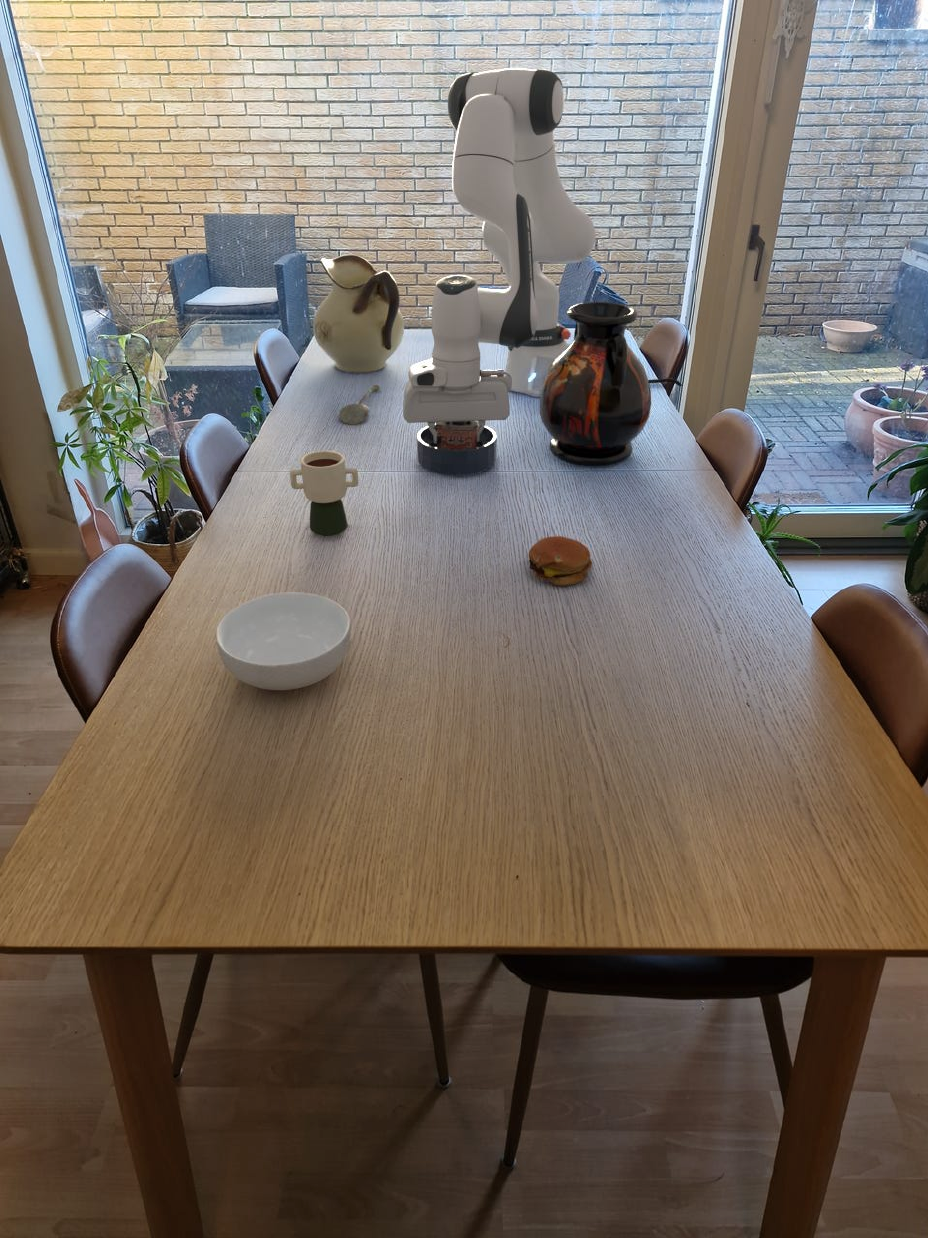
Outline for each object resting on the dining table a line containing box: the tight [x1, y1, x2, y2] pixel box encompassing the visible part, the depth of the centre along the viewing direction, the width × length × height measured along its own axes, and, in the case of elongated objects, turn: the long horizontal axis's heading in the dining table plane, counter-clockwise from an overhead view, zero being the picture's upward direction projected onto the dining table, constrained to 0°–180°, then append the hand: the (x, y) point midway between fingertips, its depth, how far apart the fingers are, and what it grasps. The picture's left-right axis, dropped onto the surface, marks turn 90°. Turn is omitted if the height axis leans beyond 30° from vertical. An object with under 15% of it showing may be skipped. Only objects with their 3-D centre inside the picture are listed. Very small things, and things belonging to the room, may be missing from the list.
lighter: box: [435, 421, 478, 450], centre depth 170 cm, size 8×3×10 cm, turn 84°
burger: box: [527, 535, 593, 587], centre depth 136 cm, size 10×9×5 cm
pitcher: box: [312, 253, 405, 374], centre depth 217 cm, size 22×24×25 cm
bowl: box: [416, 423, 498, 476], centre depth 171 cm, size 15×15×6 cm
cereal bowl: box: [215, 591, 352, 691], centre depth 114 cm, size 17×17×7 cm
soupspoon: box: [338, 383, 381, 425], centre depth 198 cm, size 22×3×7 cm
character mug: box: [289, 450, 359, 538], centre depth 145 cm, size 11×7×13 cm, turn 95°
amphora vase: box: [539, 301, 652, 468], centre depth 169 cm, size 22×22×28 cm
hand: (456, 441), depth 171 cm, fingers closed on lighter, 6 cm apart
